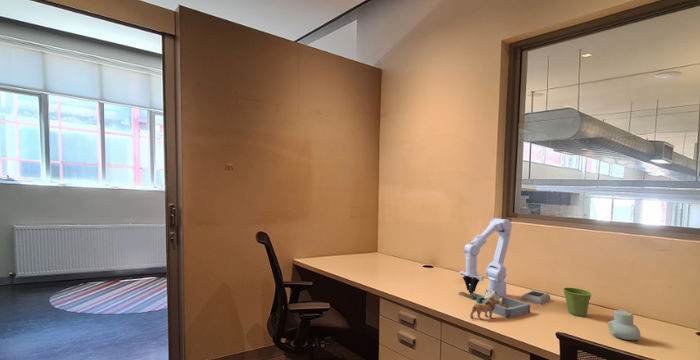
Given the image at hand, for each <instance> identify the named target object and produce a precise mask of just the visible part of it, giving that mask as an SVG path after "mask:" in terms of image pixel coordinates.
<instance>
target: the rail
mask: <svg viewBox="0 0 700 360" xmlns="http://www.w3.org/2000/svg"><path fill="white" fill-rule="evenodd" d="M458 295H459V296H462V297H465V298H467V299H469V300H474V301H476V300H477V298H476V297H473V296H471V295H470V293H469V292H468V293H467V292H464V291H460V292H459V291H458Z"/></svg>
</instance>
